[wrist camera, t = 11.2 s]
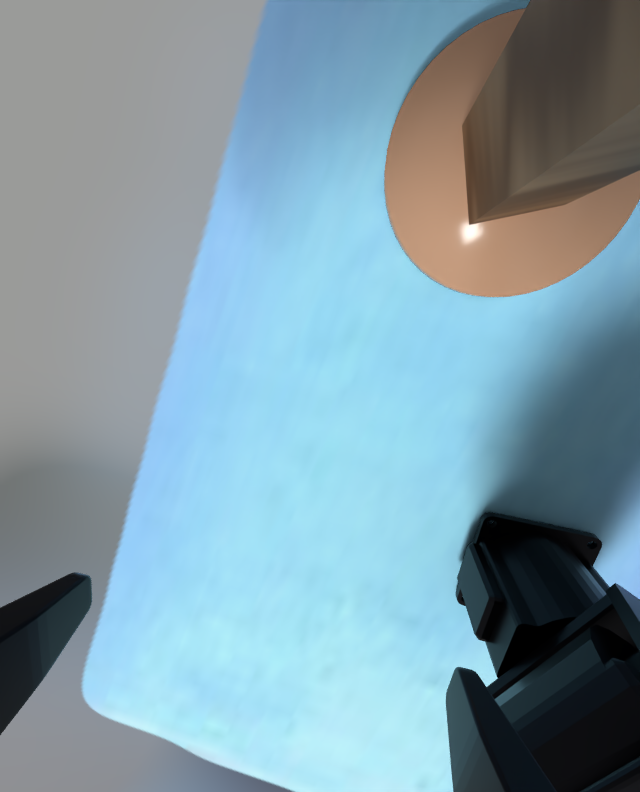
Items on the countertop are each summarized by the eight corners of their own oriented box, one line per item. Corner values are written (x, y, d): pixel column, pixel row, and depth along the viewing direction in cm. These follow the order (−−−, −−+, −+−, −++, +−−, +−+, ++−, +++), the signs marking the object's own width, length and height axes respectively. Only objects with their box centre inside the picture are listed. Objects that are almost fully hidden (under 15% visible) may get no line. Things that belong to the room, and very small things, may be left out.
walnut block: (564, 204, 16) (958, 22, 5) (468, 225, 16) (647, 99, 6) (563, 99, 15) (1045, -387, 4) (462, 125, 15) (659, -237, 5)
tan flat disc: (689, 35, 14) (707, 21, 14) (586, 314, 17) (596, 315, 17) (413, 8, 15) (416, -7, 14) (364, 277, 18) (363, 277, 18)
